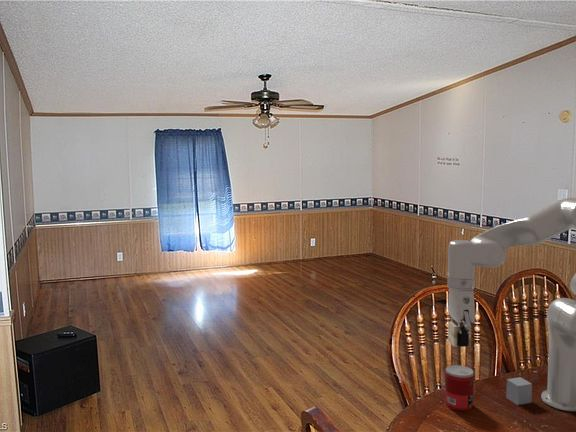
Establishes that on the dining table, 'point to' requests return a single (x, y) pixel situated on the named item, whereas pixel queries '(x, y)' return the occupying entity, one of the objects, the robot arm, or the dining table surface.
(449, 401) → the canned food
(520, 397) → the slate block
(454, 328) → the birch block
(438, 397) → the dining table surface
